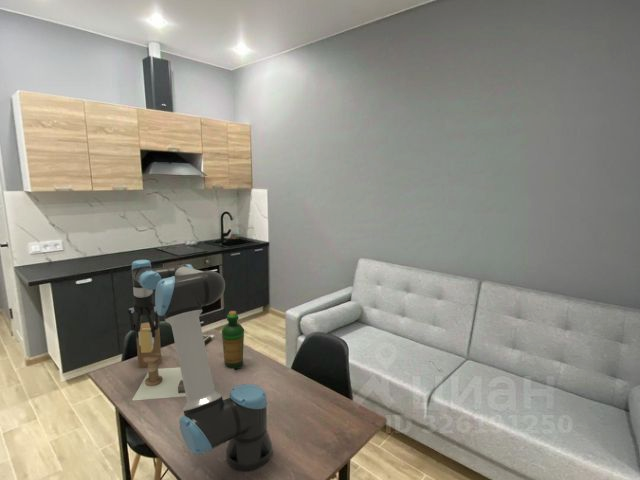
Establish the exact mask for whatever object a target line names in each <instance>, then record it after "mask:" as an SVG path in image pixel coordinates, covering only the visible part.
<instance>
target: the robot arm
mask: <svg viewBox="0 0 640 480" xmlns="http://www.w3.org/2000/svg"><path fill="white" fill-rule="evenodd" d="M151 263H152V262H151V261H150V260H147V259H137V260H134V261H133V262H132V263H131V274H132V275H131V277H132V287H133V288H132V289H133V301H134V302H133V307H130V308H128V310H127V314H128V315H129V323H130V330H131V331H132V332H133V331H134V332H135V338H136V337H137V338H139V346H141V342H140V331H141V330H140V329H141V323H142V321H143V320H142V319H143V316H146V318H147V322H149V324H150V328H151V331H150V345H153V343H154V337H155V336H156V331H155V330H157V329H158V328H159V329H160V325H161V324H160V323H161V322H160V321H161V320H160V316H161V317H164V321H165V323H167V324H169V325H170V326H171V331H172V334H173V339H174V345H175V350H176V354H177V359H178V363H179V367H180V369H181V374H182V379H183V384H184V388H185V393H186V396H185V397H186V404H185V405H184V407H183V408H182V409H183V415H182V416H181V417H180V418H179V422H178V423H179V429H180V433H181V436H182V439H183V441H184V443H185V445H186V447H187V449H188V450H189V451H190V452H191V453H192V454H193V455H197V456H199V455H202V454H204V453H207V452H210V451H212V450H213V449H215V448H217V447H219V446H220V445H223V444H225V443H227V445H226V449H225V452H226V454H225V455H226V456H225V457H226V461H227V464H228V465H229V466H230V467H231V468H232V469H235V470H237V471H241V472H248V471H254V470H256V469H257V470H258V469H259V468H261V467H263V466H264V465H266V463H268V462H269V460H270V459H271V456H272V453H273V443H272V440H271V437H270V434H269V433H268V430H267V428H268V427H267V425H268V423H267V422H268V421H267V418H268V417H267V415H268V414H267V406H268V401H267V394H266V391H265V390H264V388H263V387H260V386H259V385H255V384H250V383H248V384H247V383H246V384H245V383H244V384H239V385H236V386H235V387H233V388H232V389H231V391H230V393H229V397H227V398H225V399H224V398H223V395H222V394H221V393H219V392H217V391H216V387H215V382H214V377H213V373H212V370H211V369H212V368H211V366H210V360H209V357H208V356H209V355H208V352H207V348H206V342H205V338H204V335H203V330H202V325H201V320H200V316H201V314H202V312H203V307H205V306H209V305H212V304H214V303H215V302H217V301H218V300H219V299H220V298H221V297H222V295H223V294H224V293H225V289H226V281H225V279H224V277H223V276H222V275H221V274H220V273H219V272H217V271H213V270H204V271H203V270H198V269H195V268H194V266H193V265H192V264H189V263H188V264H185V263H183V264H180V265H172V266H165V267H157V268H152V264H151ZM154 290H155V292H154ZM153 292H154V294H155V295H154V296H153ZM153 310H154V318H153V312H152V311H153ZM135 313H136V314H137V321H136V315H135ZM154 322H155V324H154Z"/></svg>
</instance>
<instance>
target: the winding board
mask: <svg viewBox="0 0 640 480" xmlns="http://www.w3.org/2000/svg"><path fill="white" fill-rule="evenodd" d="M158 374H159V375H160V376H162V378H163V381H162V382H161V383H160V384H158V385H155V386H147V385H146V384H145V380H146V379H147V378H149V375H148V372H147V373H146V375H145V376H144V379H143V380H142V382H141V383H140V385H139V387H138V389H137V390H136V392H135V394H134V396H133V398H132V402H133V401H144V400H155V399H167V398H168V399H169V398H180V397H186V393H178V385H179V383H180V380H183V379H182V374H181V369H180V366H178V367H164V368H158Z"/></svg>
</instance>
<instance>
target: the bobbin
mask: <svg viewBox="0 0 640 480" xmlns="http://www.w3.org/2000/svg"><path fill="white" fill-rule="evenodd" d="M160 359H161V360H162V353H161V354H160V353H151V354H148V355H146V356H145V357H144V362H146V363H148V367H147V373H148V375H149V378H147V379H146V380H145V384H146V385H147V386H155V385H158V384H160V383H161V382H162V381H163V378H162V376H160V375H159V374H158V369H159V365H158V360H160Z"/></svg>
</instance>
